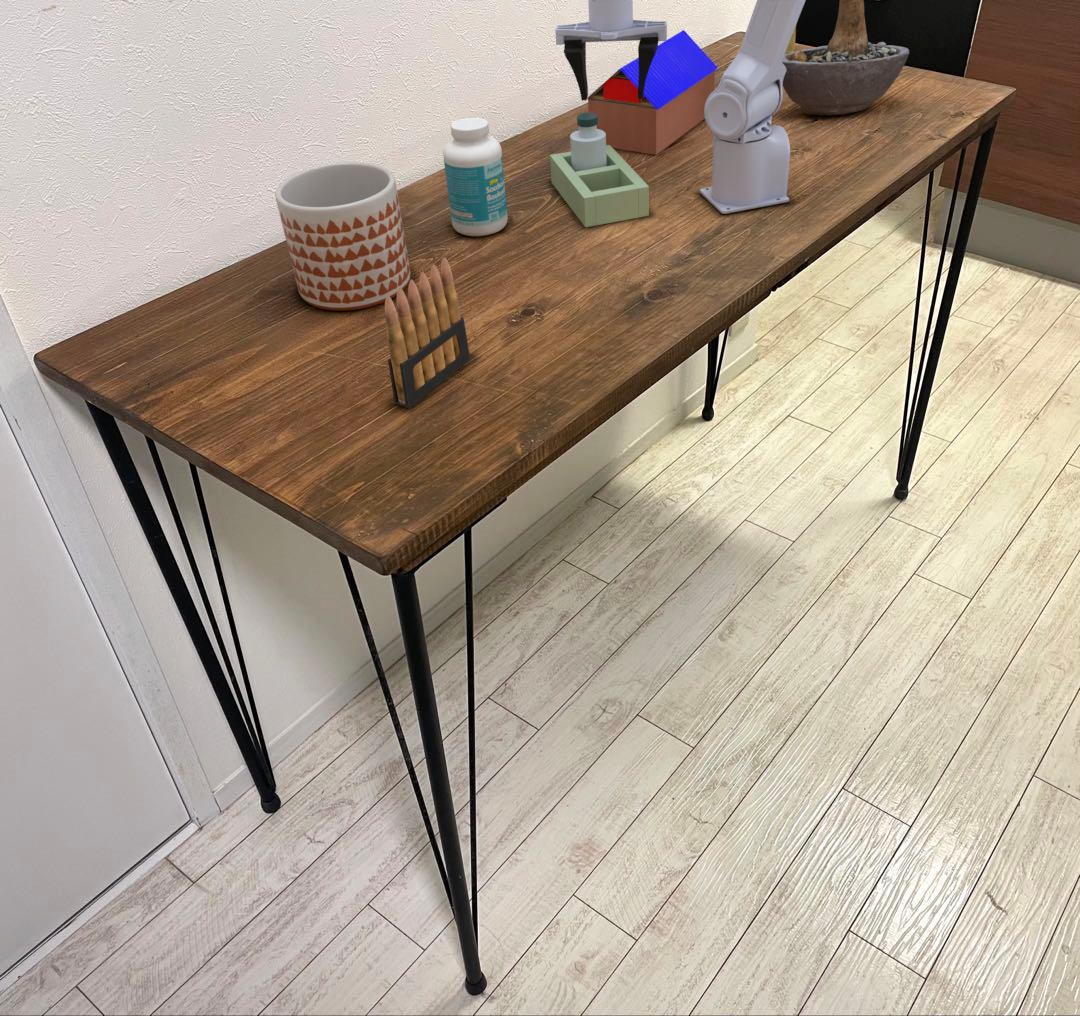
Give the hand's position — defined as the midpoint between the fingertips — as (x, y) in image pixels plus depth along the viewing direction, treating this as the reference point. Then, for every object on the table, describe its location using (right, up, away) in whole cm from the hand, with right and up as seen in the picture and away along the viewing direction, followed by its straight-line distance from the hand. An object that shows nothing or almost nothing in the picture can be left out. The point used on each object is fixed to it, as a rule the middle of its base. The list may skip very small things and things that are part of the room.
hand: (612, 97), depth 139 cm
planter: (+36, +5, +19) cm, 41 cm away
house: (+8, +3, +19) cm, 21 cm away
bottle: (-3, -12, +3) cm, 12 cm away
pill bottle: (-18, -19, -4) cm, 26 cm away
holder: (-2, -14, 0) cm, 14 cm away
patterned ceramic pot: (-32, -29, -15) cm, 46 cm away
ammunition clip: (-21, -43, -33) cm, 58 cm away
